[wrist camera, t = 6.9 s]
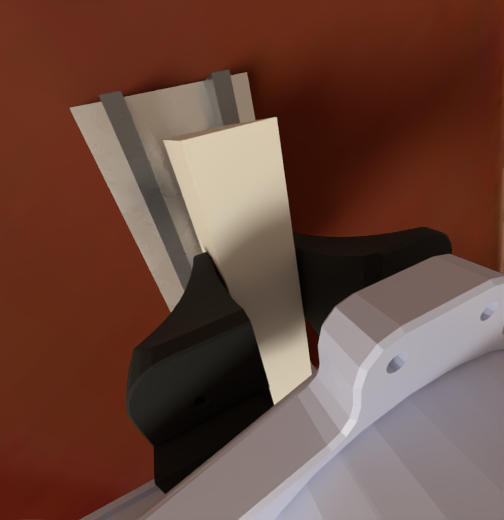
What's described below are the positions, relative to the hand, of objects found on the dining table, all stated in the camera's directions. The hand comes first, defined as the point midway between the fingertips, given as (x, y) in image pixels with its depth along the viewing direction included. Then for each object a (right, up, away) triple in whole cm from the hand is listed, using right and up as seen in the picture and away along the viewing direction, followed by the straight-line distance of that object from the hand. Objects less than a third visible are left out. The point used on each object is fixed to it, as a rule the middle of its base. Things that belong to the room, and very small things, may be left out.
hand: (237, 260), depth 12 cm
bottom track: (-3, +3, +7) cm, 8 cm away
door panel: (-1, +1, +3) cm, 3 cm away
